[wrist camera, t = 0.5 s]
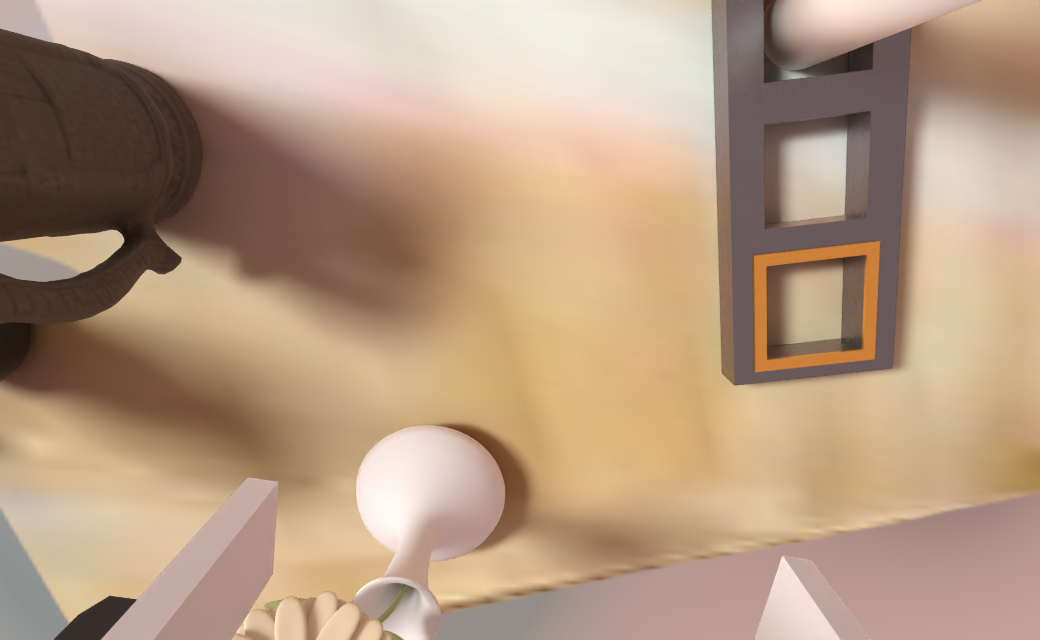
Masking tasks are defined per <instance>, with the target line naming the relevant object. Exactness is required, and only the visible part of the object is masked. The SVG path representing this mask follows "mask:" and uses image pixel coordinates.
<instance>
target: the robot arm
mask: <svg viewBox="0 0 1040 640" xmlns="http://www.w3.org/2000/svg"><path fill="white" fill-rule="evenodd" d="M277 498H278V482H277V481H270V480H263V479H256V478H249V477H248V478H247V479H246V480H245V481H244V482H243V483H242V484H241V485H240V487H239V488H238V489H237V490H236V491H235V492H234V493H233V494H232V495H231V496H230V498H229V499H228V500H227V501H226V502H225V503H224V504H223V505H222V506H221V508H220V509H219V510H218V511H217V512H216V513H215V514H214V515H213V516H212V518H211V519H210V520H209V521H208V522H207V523H206V524H205V525H204V526H203V527H202V529H201V530H200V531H199V532H198V533H197V534H196V535H195V536H194V537H193V539H192V540H191V541H190V542H189V543H188V544H187V545H186V546H185V547H184V548H183V550H182V551H181V552H180V553H179V554H178V555H177V556H176V557H175V558H174V560H173V561H172V562H171V563H170V564H169V565H168V566H167V567H166V568H165V569H164V571H163V572H162V573H161V574H160V575H159V576H158V577H157V578H156V579H155V581H154V582H153V583H152V584H151V585H150V586H149V587H148V588H147V589H146V590H145V592H144V593H143V594H142V595H141V596H140V597H139V598H138V599H129V598H122V597H115V596H109V597H107V598H105V599H104V600H102V601H100V602H99V603H97V604H96V605H94V606H92V607H91V608H89V609H87V610H86V611H84V612H82V613H81V614H79V615H78V616H77V617H76V618H75V619H74V620H73V621H72V622H71V623H70V624H69V625H68V626H67V627H66V628H65V629H64V630H63V631H62V632H61V633H60V634H59V635H58V636H57V637H56V638H55V639H54V640H232V638H233V637H234V635H235V634H236V632H237V630H238V629H239V627H240V626H241V624H242V622H243V621H244V619H245V617H246V616H247V614H248V613H249V611H250V609H251V608H252V606H253V605H254V603H255V601H256V600H257V598H258V597H259V595H260V593H261V592H262V590H263V589H264V587H265V585H266V584H267V582H268V581H269V579H270V577H271V576H272V574H273V563H274V547H275V531H276V514H277ZM754 640H871V639H870V637H869V636H868V635H867V633H866V632H865V631H864V630H863V628H862V627H861V626H860V624H859V623H858V622H857V620H856V619H855V618H854V616H853V615H852V614H851V612H850V611H849V610H848V608H847V607H846V606H845V605H844V603H843V602H842V600H841V599H840V598H839V596H838V595H837V594H836V592H835V591H834V590H833V588H832V587H831V586H830V585H829V583H828V582H827V581H826V579H825V578H824V577H823V576H822V574H821V573H820V571H819V570H818V569H817V567H816V566H815V565H814V563H813V562H812V561H811V560H809V559H802V558H796V557H789V556H782V559H781V562H780V565H779V568H778V571H777V574H776V577H775V580H774V583H773V586H772V589H771V592H770V594H769V597H768V600H767V603H766V607H765V609H764V613H763V615H762V618H761V621H760V624H759V627H758V630H757V633H756V636H755V639H754Z"/></svg>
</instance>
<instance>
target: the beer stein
mask: <svg viewBox="0 0 1040 640" xmlns="http://www.w3.org/2000/svg"><path fill="white" fill-rule="evenodd" d="M201 158H202V154H201V146H200V138H199V135H198V131H197V128H196V125H195V123H194V121H193V119H192V116H191V114H190V112H189V111H188V109H187V108H186V106H185V105H184V104H183V102H182V101H181V99H180V98H179V97H178V96H177V95H176V94H175V92H174V91H173V90H172V89H171V88H170V87H169V86H168V85H166V84H165V83H164V82H163V81H162V80H160V79H159V78H158V77H157V76H155V75H153V74H152V73H150V72H148V71H146V70H144V69H142V68H140V67H137V66H135V65H132V64H129V63H126V62H122V61H118V60H112V59H101V58H99V57H96V56H94V55H92V54H89V53H87V52H84V51H80V50H77V49H73V48H69V47H67V46H64V45H62V44H57V43H52V42H46V41H43V40H39V39H36V38H32V37H29V36H25V35H22V34H18V33H14V32H10V31H7V30H3V29H0V242H3V241H11V240H19V239H27V238H35V237H44V236H49V237H57V236H69V235H76V234H86V233H97V232H102V231H107V230H117V231H119V232H120V233H121V234H122V235H123V237H124V241H125V242H124V243H123V245H122V246H121V248H120V249H118V250H117V251H116V252H115V253H114V254H113V255H112V256H111V257H109V258H108V259H107V260H106V261H104V262H103V263H101V264H99V265H97V266H96V267H95V268H94V269H92V270H90V271H87V272H84V273H81V274H79V275H77V276H75V277H73V278H70V279H63V280H56V281H49V282H36V281H28V280H19V279H15V278H12V277H9V276H7V275H4V274H1V273H0V324H2V323H9V322H19V323H34V324H37V323H58V322H73V321H77V320H81V319H85V318H89V317H92V316H94V315H96V314H98V313H100V312H103V311H105V310H107V309H109V308H111V307H112V306H114V305H115V304H116V303H118V302H119V301H120V300H121V299H122V298H123V297H124V296H125V295H126V294H127V293H128V292H129V291H130V289H131V288H132V287H133V285H134V284H135V283H136V281H137V280H138V279H139V277H140V276H141V275H142V274H143V273H144V272H145V271H146V270H147V269H149V270H153V271H154V272H156V273H158V274H166V273H168V272H170V271H172V270H174V269H175V268H176V267H177V266H178V265H179V264H180V263H181V259H182V258H181V257H180V256H179V255H178V254H177V253H175V252H174V251H173V250H172V249H171V248H170V247H168V246H167V245H166V244H165V243H164V242H163V240H162V239H161V238H160V237H159V236H158V234H157V233H156V231H155V228H154V226H153V224H154V223H157V222H161V221H162V220H164V219H166V218H168V217H170V216H172V215H174V214H175V213H176V212H177V211H178V210H179V209H180V208H181V207H182V206H183V205H185V204H186V202H187V201H188V199H189V198H190V196H191V195H192V193H193V191H194V188H195V186H196V183H197V181H198V178H199V176H200V171H201Z"/></svg>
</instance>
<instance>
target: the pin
mask: <svg viewBox="0 0 1040 640" xmlns="http://www.w3.org/2000/svg"><path fill="white" fill-rule="evenodd" d="M978 1H981V0H772V1H771V2H770V3H769V5H768V6H767V8H766V9H765V11H764V53H765V55H766V56H767V58H768V59H769V60H770V61H771V62H772V63H774V64H775V65H777V66H778V67H780V68H783V69H787V70H801V69H805V68H808V67H810V66H813V65H816V64H818V63H821V62H823V61H826V60H829V59H831V58H834V57H836V56H839V55H841V54H844V53H847V52H849V51H852V50H854V49H857V48H860V47H862V46H865V45H867V44H870V43H872V42H875V41H878V40H880V39H883V38H885V37H888V36H890V35H893V34H896V33H898V32H901V31H903V30H906V29H909V28H911V27H914V26H916V25H919V24H921V23H924V22H927V21H929V20H932V19H934V18H937V17H940V16H942V15H945V14H947V13H950V12H952V11H955V10H958V9H960V8H963V7H965V6H968V5H970V4H973V3H976V2H978Z"/></svg>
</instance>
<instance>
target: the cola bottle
mask: <svg viewBox="0 0 1040 640" xmlns="http://www.w3.org/2000/svg"><path fill="white" fill-rule="evenodd" d="M29 342H30V333H29V327H28V323H19V322H9V323H2V324H0V381H1V380H3V379H4V378H5V377H7V376H8V375H9V374H11V373H12V372H13V371H14V370H15V369H16V368H17V367H18V366H19V365H20V364H21V362H22V361H23V359H24V358H25V356H26V354H27V351H28V348H29Z"/></svg>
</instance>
